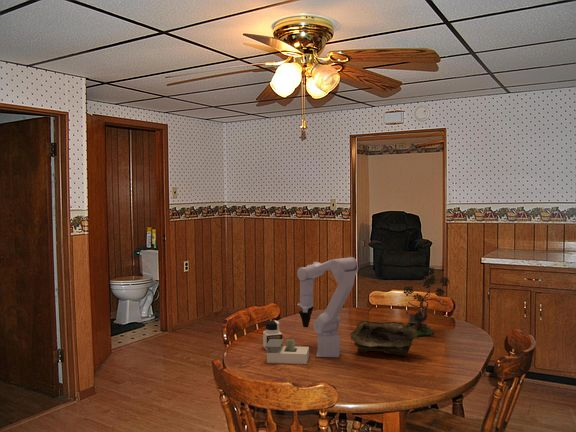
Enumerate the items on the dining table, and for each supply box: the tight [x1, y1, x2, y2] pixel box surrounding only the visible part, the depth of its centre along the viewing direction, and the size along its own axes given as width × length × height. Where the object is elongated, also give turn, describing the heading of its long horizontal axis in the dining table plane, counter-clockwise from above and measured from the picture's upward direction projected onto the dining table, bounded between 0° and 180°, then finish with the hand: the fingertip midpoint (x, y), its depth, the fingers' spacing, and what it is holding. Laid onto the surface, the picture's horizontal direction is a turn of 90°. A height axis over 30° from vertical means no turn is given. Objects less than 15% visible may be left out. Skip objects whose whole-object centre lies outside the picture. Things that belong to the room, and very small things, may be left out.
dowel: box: [285, 338, 296, 352], centre depth 207 cm, size 4×4×8 cm
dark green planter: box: [350, 320, 419, 357], centre depth 214 cm, size 28×13×15 cm
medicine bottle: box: [262, 319, 284, 352], centre depth 223 cm, size 7×7×12 cm
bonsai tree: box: [403, 266, 451, 337], centre depth 248 cm, size 35×24×32 cm
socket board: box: [264, 338, 310, 365], centre depth 207 cm, size 16×11×7 cm, turn 82°
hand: (306, 324), depth 224 cm, fingers open, 7 cm apart
